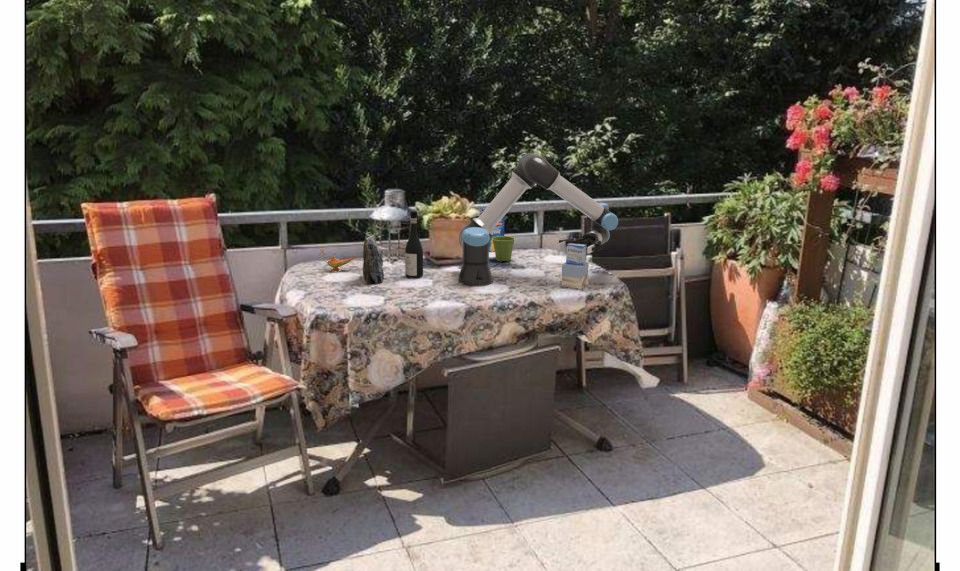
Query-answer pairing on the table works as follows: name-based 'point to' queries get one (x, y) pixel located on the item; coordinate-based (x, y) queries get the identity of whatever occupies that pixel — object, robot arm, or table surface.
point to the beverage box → (496, 232)
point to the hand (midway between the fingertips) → (573, 248)
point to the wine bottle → (414, 251)
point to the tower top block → (574, 270)
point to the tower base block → (575, 281)
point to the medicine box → (576, 254)
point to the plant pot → (503, 247)
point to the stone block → (372, 261)
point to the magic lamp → (336, 261)
